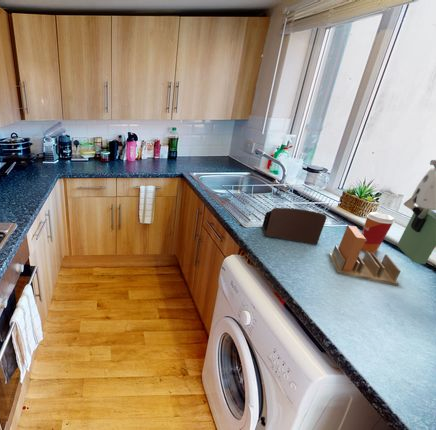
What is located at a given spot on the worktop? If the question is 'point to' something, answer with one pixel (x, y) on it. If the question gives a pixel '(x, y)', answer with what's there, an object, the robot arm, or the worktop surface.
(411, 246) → the green book
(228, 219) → the worktop surface
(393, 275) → the book rack
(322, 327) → the worktop surface
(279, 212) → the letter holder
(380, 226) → the coffee cup
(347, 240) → the orange book
